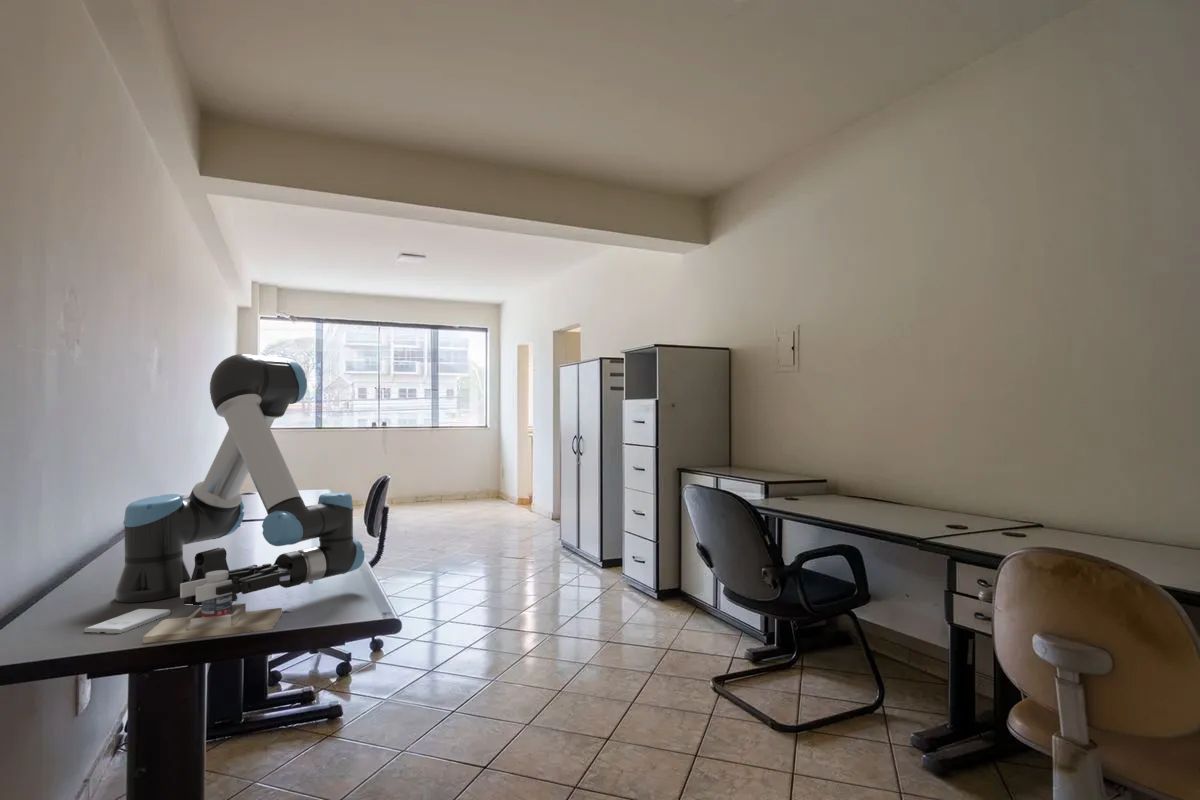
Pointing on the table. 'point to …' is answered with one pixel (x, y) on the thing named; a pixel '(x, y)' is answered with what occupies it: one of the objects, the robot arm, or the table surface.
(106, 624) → the external hard drive
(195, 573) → the phone stand
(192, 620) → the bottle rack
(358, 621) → the table surface
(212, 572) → the pill bottle
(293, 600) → the table surface
